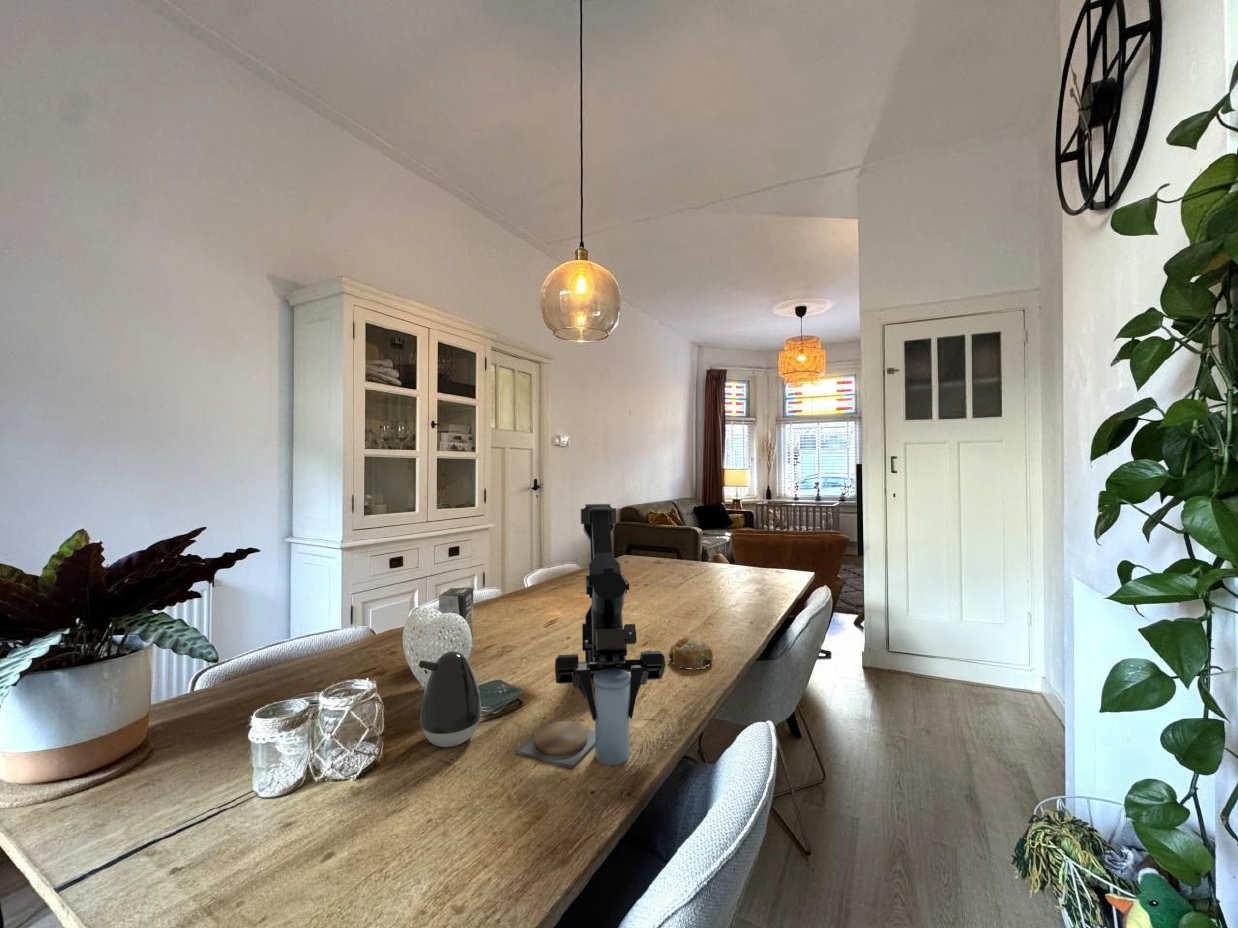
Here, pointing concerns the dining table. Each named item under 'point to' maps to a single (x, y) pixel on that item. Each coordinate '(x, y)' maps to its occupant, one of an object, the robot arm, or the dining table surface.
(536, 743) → the grey brown domed tile
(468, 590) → the coffee box
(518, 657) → the dining table surface
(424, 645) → the decorative heart
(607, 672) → the canister
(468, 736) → the pump dispenser
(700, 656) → the brown domed lump
